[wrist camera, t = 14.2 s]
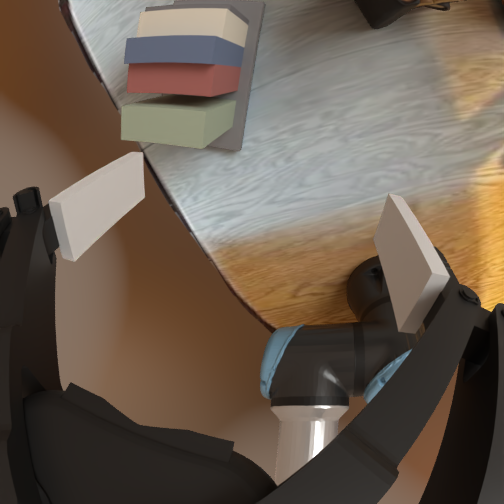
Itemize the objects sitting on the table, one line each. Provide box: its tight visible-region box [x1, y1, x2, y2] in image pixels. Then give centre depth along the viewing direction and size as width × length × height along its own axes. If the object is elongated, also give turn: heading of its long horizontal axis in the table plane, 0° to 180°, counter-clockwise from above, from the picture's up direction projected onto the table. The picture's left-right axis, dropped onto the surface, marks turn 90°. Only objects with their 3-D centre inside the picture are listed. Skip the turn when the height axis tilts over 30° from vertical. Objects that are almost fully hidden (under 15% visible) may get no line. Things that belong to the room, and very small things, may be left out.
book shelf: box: [124, 0, 265, 151], centre depth 29 cm, size 23×13×14 cm, turn 171°
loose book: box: [121, 94, 236, 149], centre depth 32 cm, size 4×10×13 cm, turn 81°
